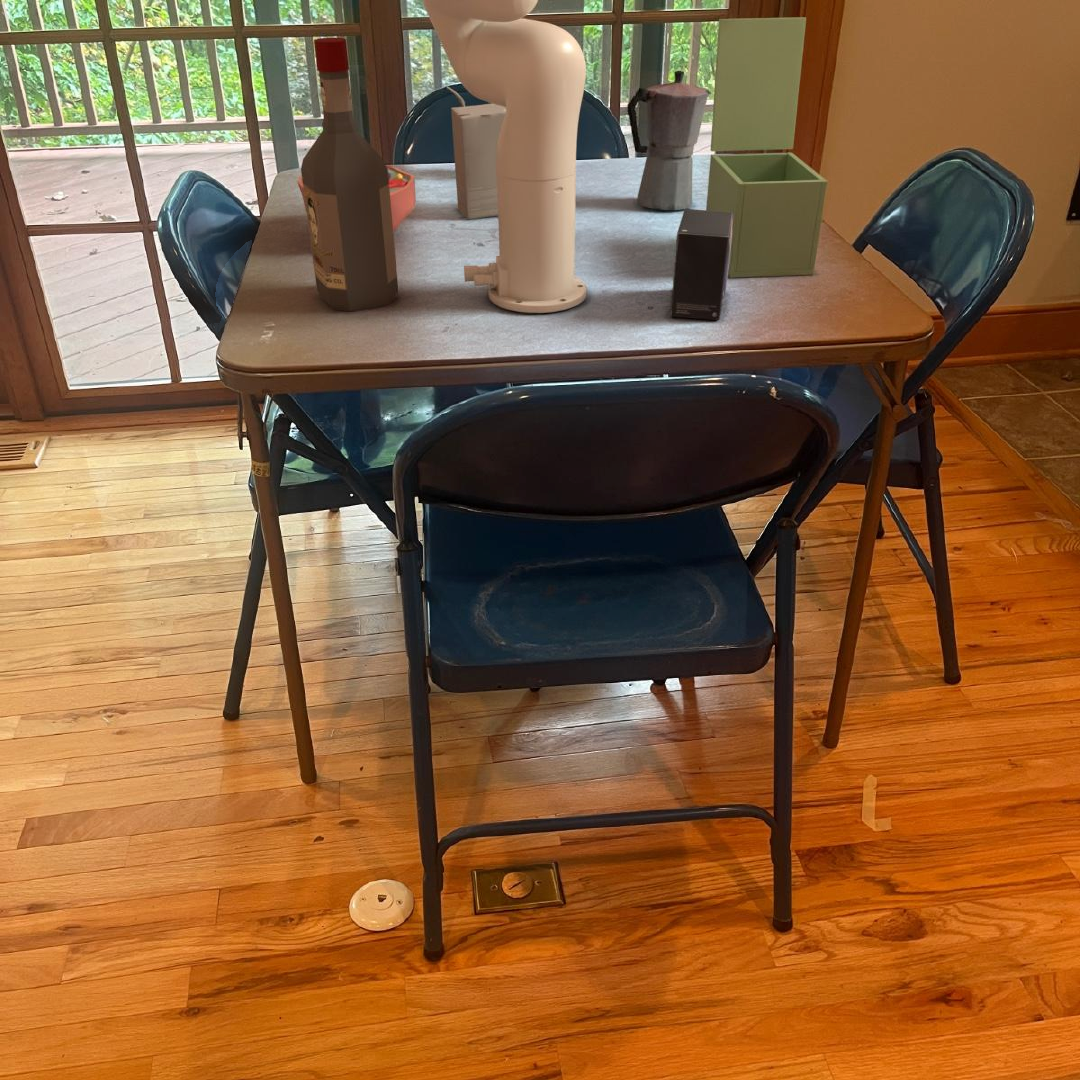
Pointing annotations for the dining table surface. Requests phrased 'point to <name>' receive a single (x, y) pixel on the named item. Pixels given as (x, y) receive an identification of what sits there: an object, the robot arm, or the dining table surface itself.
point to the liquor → (347, 198)
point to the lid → (757, 83)
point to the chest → (768, 212)
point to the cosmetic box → (477, 158)
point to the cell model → (394, 194)
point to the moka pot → (668, 141)
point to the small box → (701, 264)
